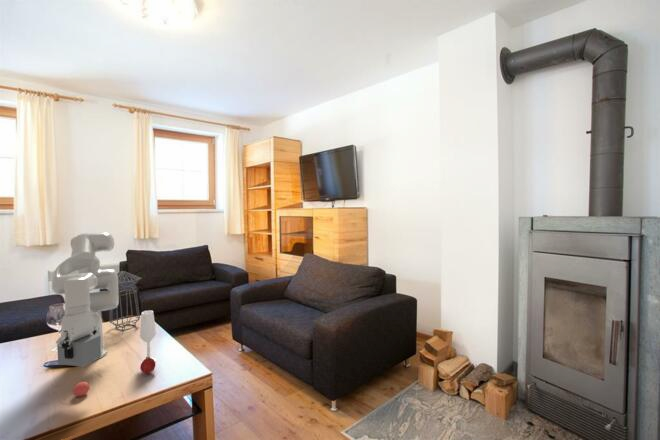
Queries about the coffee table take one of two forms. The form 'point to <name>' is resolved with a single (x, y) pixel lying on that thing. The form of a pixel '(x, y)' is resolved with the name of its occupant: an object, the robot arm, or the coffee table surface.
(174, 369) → the coffee table surface
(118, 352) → the coffee table surface
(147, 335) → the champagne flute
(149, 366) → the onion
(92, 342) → the grey rectangular box
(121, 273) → the geometric lantern
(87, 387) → the ball
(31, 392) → the coffee table surface
